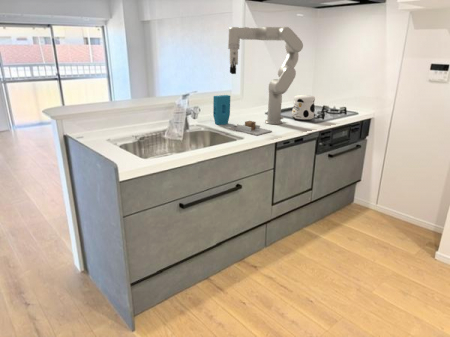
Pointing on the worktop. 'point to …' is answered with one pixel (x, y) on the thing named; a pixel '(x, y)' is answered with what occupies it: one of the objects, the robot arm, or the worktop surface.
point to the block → (221, 109)
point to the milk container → (303, 107)
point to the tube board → (248, 130)
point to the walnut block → (250, 124)
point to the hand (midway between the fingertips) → (232, 73)
